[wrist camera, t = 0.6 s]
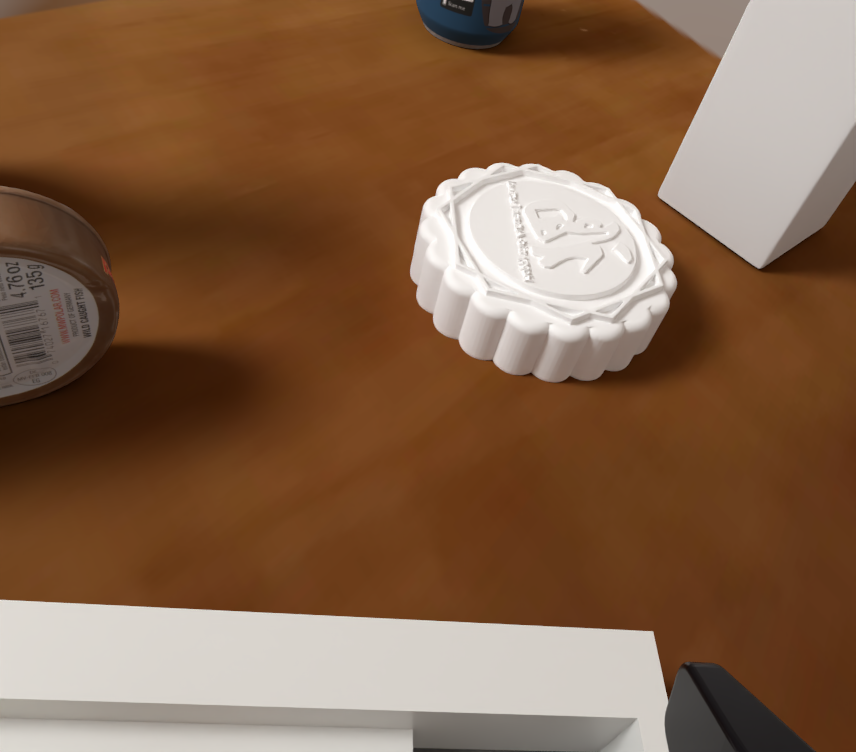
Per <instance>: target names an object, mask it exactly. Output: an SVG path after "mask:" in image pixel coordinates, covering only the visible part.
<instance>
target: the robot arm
mask: <svg viewBox="0 0 856 752" xmlns="http://www.w3.org/2000/svg"><path fill="white" fill-rule="evenodd" d="M664 725H665V734H666V740H667V745H668V750H669V752H816V751H815V750H813V749H812V748H811V747H810V746H809V745H808V744H807V743H806V742H805V741H803V740H802V739H801V738H800V737H799V736H798V735H797V734H796V733H795V732H794V731H792V730H791V729H790V728H789V727H788V726H787V725H786V724H785V723H784V722H782V721H781V720H780V719H779V718H778V717H777V716H776V715H775V714H774V713H772V712H771V711H770V710H769V709H768V708H767V707H766V706H765V705H764V704H763V703H761V702H760V701H759V700H758V699H757V698H756V697H755V696H754V695H753V694H751V693H750V692H749V691H748V690H747V689H746V688H745V687H744V686H743V685H741V684H740V683H739V682H738V681H737V680H736V679H735V678H734V677H733V676H732V675H730V674H729V673H728V672H727V671H726V670H725V669H724V668H722V667H721V666H719V665H718V664H714V663H702V662H686V663H683V664H682V665H681V666H680V668H679V670H678V672H677V676H676V679H675V682H674V685H673V689H672V692H671V695H670V698H669V702H668V705H667V708H666V712H665V721H664Z"/></svg>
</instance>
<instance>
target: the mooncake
mask: <svg viewBox="0 0 856 752" xmlns="http://www.w3.org/2000/svg"><path fill="white" fill-rule="evenodd" d="M673 264H674V258H673V255H672V253H671V252H670V250H669V249H668V248H667V247H666V246H664V245H663V244H661V234H660V232H659V230H658V229H657V228H656V227H655V226H654V225H653V224H651V223H650V222H648V221H646V220H643V219H641V215H640V212H639V211H638V209H637V208H636V207H635V206H634V205H633V204H631V203H629V202H627V201H625V200H622V199H617V198H616V196H615V195H614V194H613V193H612V192H611V190H610V189H609V188H607V187H605V186H603V185H601V184H598V183H592V182H584V181H583V180H582V179H581V178H580V177H579V176H577V175H576V174H574V173H571V172H568V171H562V170H560V171H552V170H550V169H548V168H546V167H543V166H541V165H539V164H525V165H522V166H520V167H516V166H514V165H511V164H507V163H496V164H493V165H491V166H489V167H488V168H487V169H486V170H485V169H481V168H470V169H467V170H465V171H463V172H462V173H461V174H460V175H459V177H458V179H449V180H446V181H444V182H442V183H441V184H440V185H439V186H438V188H437V191H436V196H434V197H431V198H430V199H428V200H427V201H426V202H425V204H424V206H423V210H422V214H421V219H420V224H419V228H418V233H417V238H416V242H415V247H414V254H413V259H412V263H411V268H410V276H411V278H412V280H413V282H414V283H415V284H416V285H418V288H417V293H416V297H417V301H418V303H419V305H420V306H421V307H422V308H423V309H424V310H426V311H427V312H429V313H432V314H434V315H433V322H434V325H435V327H436V329H437V330H438V331H439V332H440V333H442V334H443V335H445V336H447V337H449V338H452V339H458V340H459V343H460V346H461V348H462V349H463V350H464V351H465V352H466V353H467V354H468V355H470V356H472V357H474V358H476V359H480V360H493V362H494V363H495V365H496V366H497V367H498V368H500V369H501V370H503V371H504V372H506V373H509V374H512V375H525V374H528V373H532V374H533V375H534V376H536V377H537V378H539V379H541V380H543V381H547V382H561V381H563V380H565V379H567V378H568V377H569V376H571V377H573V378H575V379H578V380H582V381H592V380H595V379H597V378H599V377H600V376H601V375H602V373H603V372H604V370H608V371H620V370H622V369H624V368H626V367H627V366H628V364H629V363H630V361H631V359H632V358H633V356H634V355H636V354H640V353H642V352H643V351H644V350H645V349H646V348H647V346H648V344H649V343H650V341H651V339H652V337H653V336H654V334H655V332H656V330H657V329H658V327H659V325H660V323H661V322H662V320H663V318H664V316H665V315H666V313H667V311H668V309H669V305H670V301H669V300H670V298H671V297H672V295H673V293H674V291H675V289H676V287H677V280H676V277H675V275H674V273H673V272H672V271H671V269H672V267H673Z"/></svg>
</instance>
